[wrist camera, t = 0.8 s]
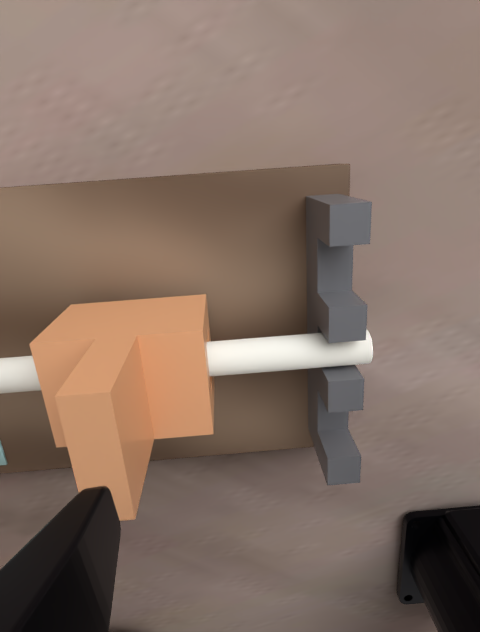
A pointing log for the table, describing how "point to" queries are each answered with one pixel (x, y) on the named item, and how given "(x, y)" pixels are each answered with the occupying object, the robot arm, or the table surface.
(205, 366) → the orange stepped block
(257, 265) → the cord board
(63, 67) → the table surface
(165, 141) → the table surface
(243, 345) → the cord
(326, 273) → the cable comb
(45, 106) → the table surface
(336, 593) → the table surface
